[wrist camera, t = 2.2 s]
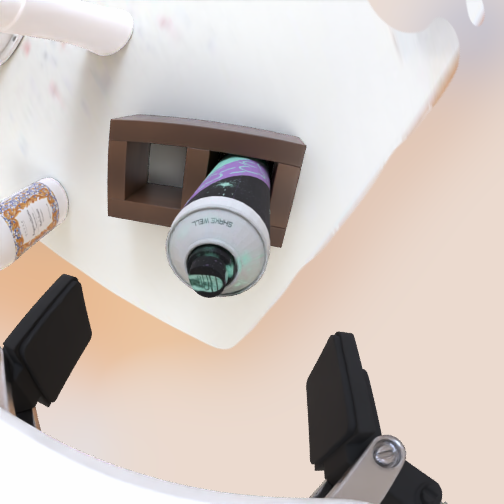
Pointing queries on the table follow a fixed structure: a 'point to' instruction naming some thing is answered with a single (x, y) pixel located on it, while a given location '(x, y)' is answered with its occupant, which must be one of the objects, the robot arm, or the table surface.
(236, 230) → the spray can
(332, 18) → the table surface
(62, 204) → the bath foam
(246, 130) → the rack
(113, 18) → the cosmetic bottle
